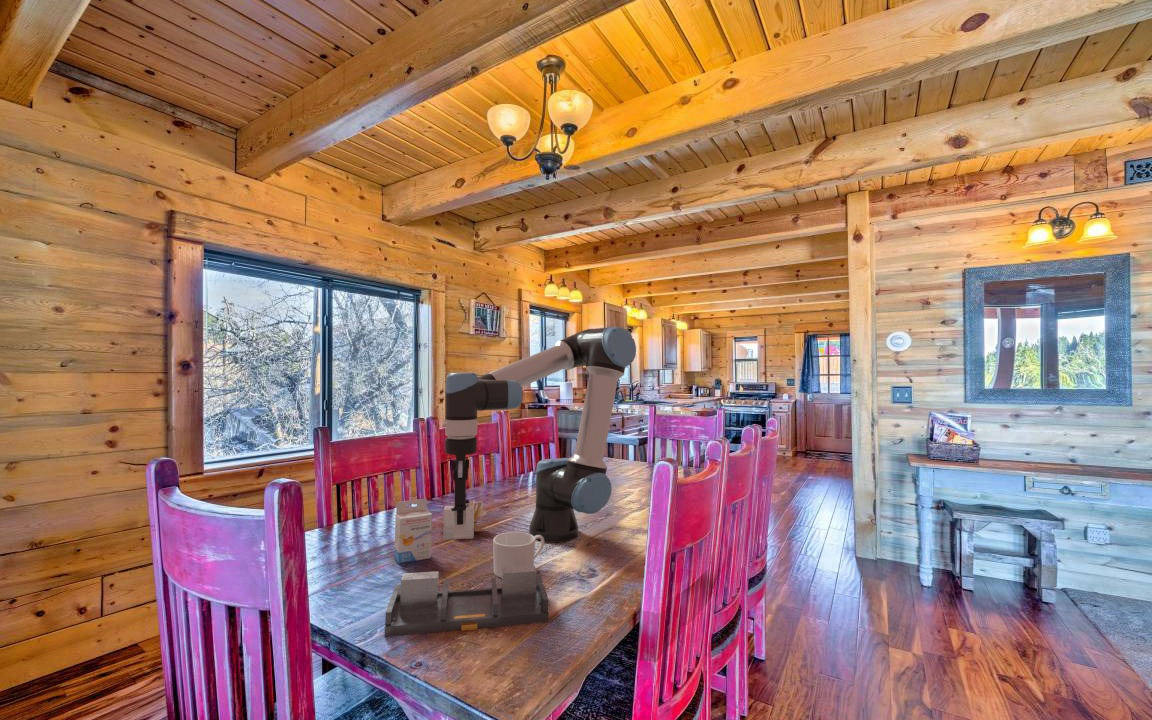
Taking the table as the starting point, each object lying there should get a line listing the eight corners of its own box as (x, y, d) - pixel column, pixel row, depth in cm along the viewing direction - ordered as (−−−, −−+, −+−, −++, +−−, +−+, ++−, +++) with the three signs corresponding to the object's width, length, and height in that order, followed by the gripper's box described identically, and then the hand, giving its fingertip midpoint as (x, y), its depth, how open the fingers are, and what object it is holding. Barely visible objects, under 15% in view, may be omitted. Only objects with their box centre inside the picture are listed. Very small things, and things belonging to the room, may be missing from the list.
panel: (473, 533, 117) (474, 504, 118) (473, 538, 114) (474, 508, 114) (444, 535, 116) (444, 506, 116) (443, 539, 113) (443, 509, 113)
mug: (500, 583, 113) (501, 549, 113) (486, 566, 122) (487, 535, 123) (552, 573, 119) (552, 540, 119) (535, 558, 129) (536, 528, 129)
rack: (539, 592, 109) (540, 556, 109) (548, 623, 96) (549, 582, 96) (395, 603, 102) (396, 564, 103) (383, 638, 89) (385, 593, 89)
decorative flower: (429, 522, 151) (438, 490, 152) (460, 524, 158) (468, 494, 159) (450, 539, 140) (460, 504, 141) (483, 540, 147) (492, 507, 148)
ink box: (398, 564, 122) (399, 506, 123) (393, 558, 127) (395, 502, 127) (431, 558, 127) (433, 502, 127) (426, 552, 131) (427, 497, 132)
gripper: (446, 432, 123) (446, 524, 122) (442, 442, 107) (441, 548, 106) (476, 431, 124) (476, 522, 124) (477, 441, 108) (476, 545, 108)
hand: (460, 534), depth 115 cm, fingers closed on panel, 3 cm apart
